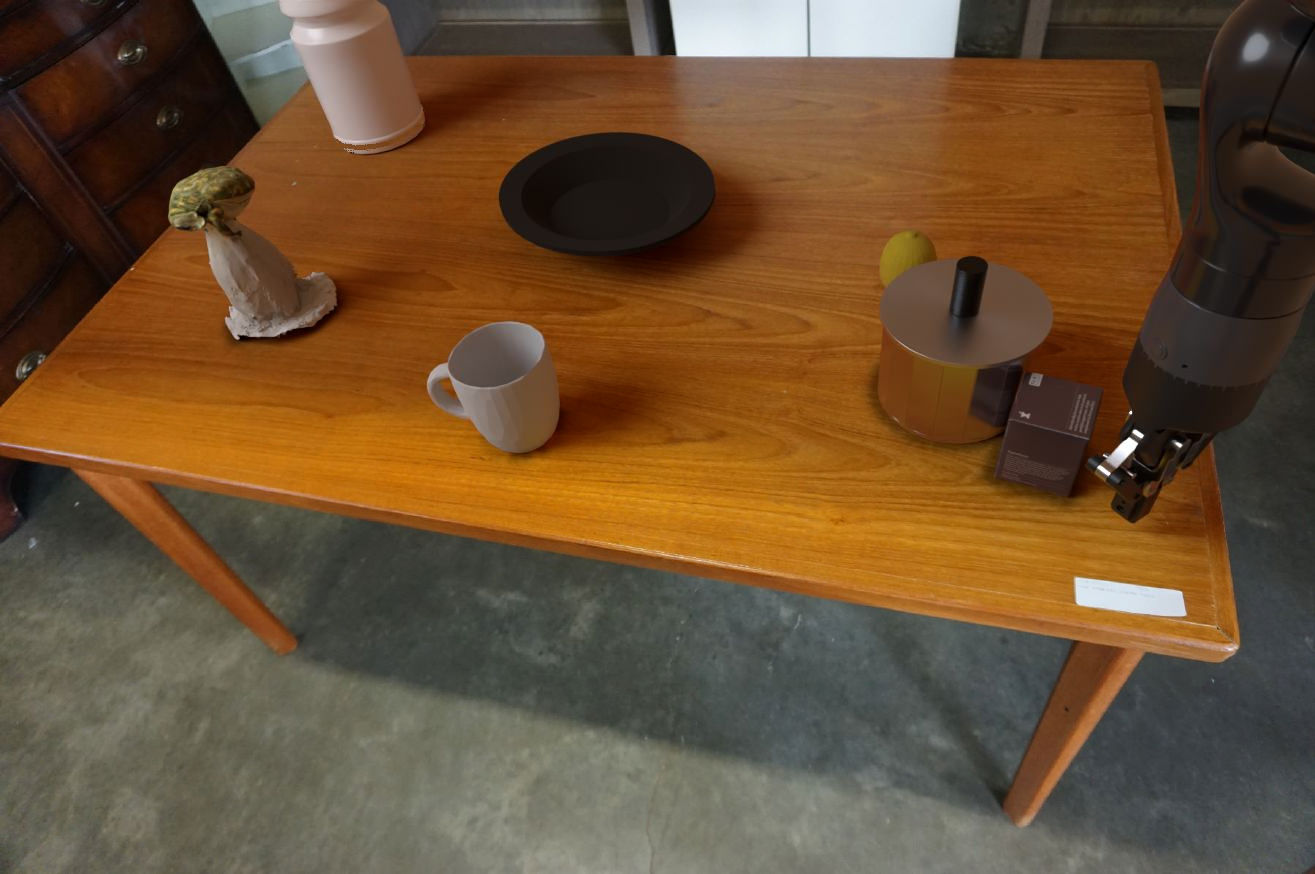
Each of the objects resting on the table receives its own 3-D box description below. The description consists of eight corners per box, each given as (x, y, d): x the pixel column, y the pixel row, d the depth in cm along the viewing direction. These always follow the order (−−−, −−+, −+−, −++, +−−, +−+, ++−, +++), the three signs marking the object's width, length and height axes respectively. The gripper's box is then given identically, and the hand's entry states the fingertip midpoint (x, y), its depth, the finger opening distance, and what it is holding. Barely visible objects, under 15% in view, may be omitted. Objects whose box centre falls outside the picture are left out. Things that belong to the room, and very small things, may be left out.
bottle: (319, 149, 126) (224, -53, 106) (376, 105, 134) (299, -91, 114) (390, 161, 121) (305, -50, 100) (445, 115, 129) (377, -90, 108)
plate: (763, 217, 100) (761, 175, 96) (618, 322, 90) (609, 281, 86) (608, 151, 115) (600, 112, 111) (469, 235, 105) (456, 196, 101)
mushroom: (326, 338, 95) (248, 197, 81) (217, 354, 95) (121, 216, 82) (345, 275, 103) (276, 137, 89) (244, 290, 103) (161, 155, 90)
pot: (1054, 401, 75) (1080, 320, 68) (944, 466, 72) (960, 388, 65) (952, 327, 83) (966, 248, 76) (849, 383, 80) (854, 305, 73)
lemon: (937, 311, 85) (947, 245, 79) (881, 316, 85) (887, 251, 80) (926, 277, 89) (935, 212, 83) (873, 282, 89) (878, 218, 83)
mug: (579, 398, 83) (557, 321, 76) (556, 467, 77) (529, 391, 70) (461, 393, 86) (429, 318, 78) (430, 459, 80) (392, 385, 73)
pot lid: (1088, 326, 68) (1106, 271, 64) (958, 400, 65) (969, 346, 61) (965, 249, 77) (974, 196, 73) (845, 310, 73) (848, 258, 69)
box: (1068, 500, 68) (1090, 441, 62) (991, 478, 70) (1007, 419, 65) (1082, 448, 71) (1105, 387, 66) (1009, 428, 74) (1025, 368, 68)
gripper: (1190, 424, 47) (1107, 589, 59) (1342, 326, 50) (1233, 502, 63) (1080, 353, 51) (1025, 520, 64) (1225, 268, 55) (1146, 443, 68)
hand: (1128, 511), depth 63 cm, fingers closed
